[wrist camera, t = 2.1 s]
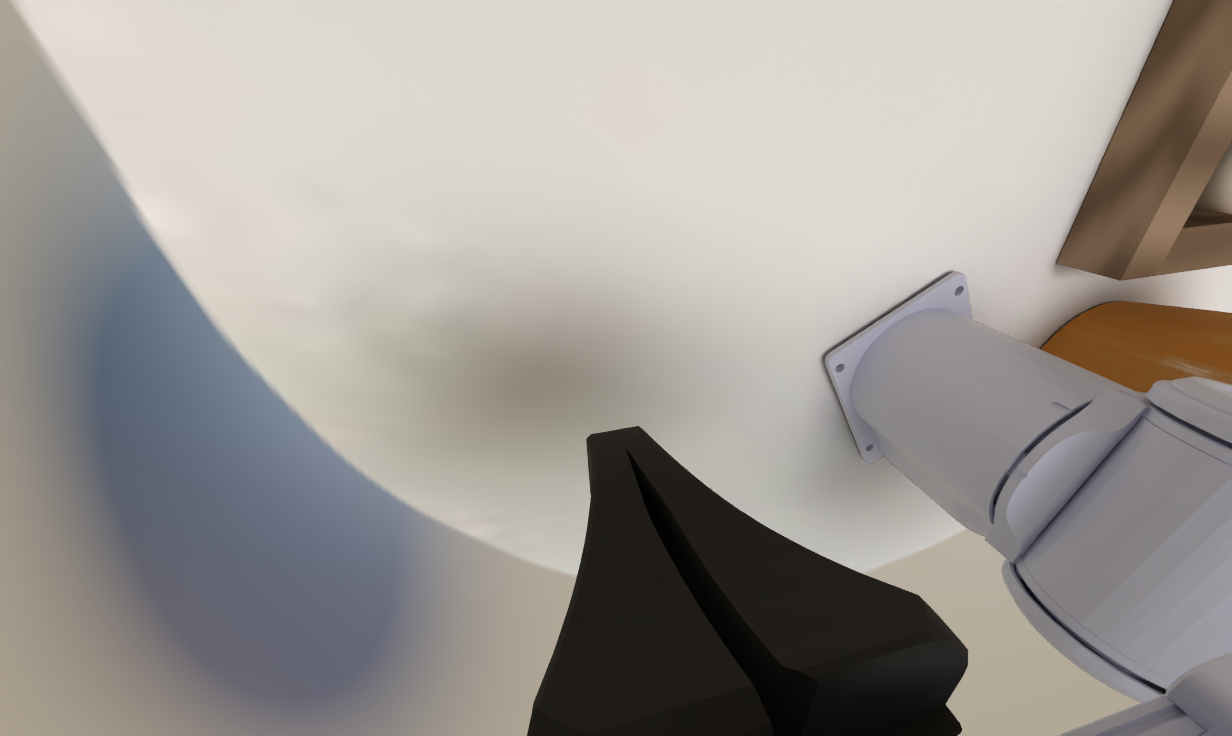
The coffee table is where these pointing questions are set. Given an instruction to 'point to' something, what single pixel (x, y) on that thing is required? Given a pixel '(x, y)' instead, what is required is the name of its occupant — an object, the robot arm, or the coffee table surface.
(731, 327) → the coffee table surface
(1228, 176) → the cream button
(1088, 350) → the flower pot
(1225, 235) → the wooden compartment tray
